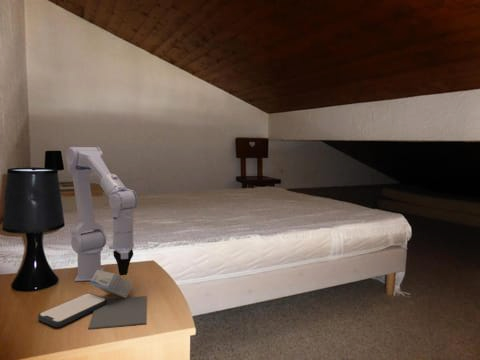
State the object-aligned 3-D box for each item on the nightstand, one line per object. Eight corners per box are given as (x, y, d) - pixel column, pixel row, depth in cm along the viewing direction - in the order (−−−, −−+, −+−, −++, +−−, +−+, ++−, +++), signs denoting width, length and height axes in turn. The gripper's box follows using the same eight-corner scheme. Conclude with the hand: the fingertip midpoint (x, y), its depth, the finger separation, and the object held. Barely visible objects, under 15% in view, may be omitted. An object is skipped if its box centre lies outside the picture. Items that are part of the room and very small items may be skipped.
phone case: (88, 297, 106) (35, 320, 92) (88, 292, 106) (35, 314, 92) (109, 304, 102) (57, 329, 88) (109, 298, 101) (57, 323, 87)
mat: (97, 300, 104) (97, 299, 104) (146, 297, 108) (146, 295, 108) (88, 329, 89) (88, 327, 89) (146, 324, 92) (146, 322, 92)
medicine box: (133, 284, 107) (115, 272, 101) (126, 299, 105) (107, 287, 99) (115, 280, 111) (97, 268, 105) (108, 294, 109) (88, 282, 103)
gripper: (108, 225, 112) (108, 267, 113) (109, 238, 98) (109, 285, 100) (132, 224, 114) (131, 265, 116) (135, 236, 101) (135, 282, 102)
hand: (123, 274), depth 108 cm, fingers closed
